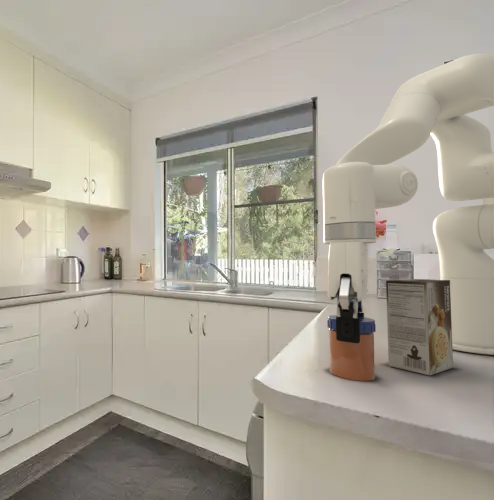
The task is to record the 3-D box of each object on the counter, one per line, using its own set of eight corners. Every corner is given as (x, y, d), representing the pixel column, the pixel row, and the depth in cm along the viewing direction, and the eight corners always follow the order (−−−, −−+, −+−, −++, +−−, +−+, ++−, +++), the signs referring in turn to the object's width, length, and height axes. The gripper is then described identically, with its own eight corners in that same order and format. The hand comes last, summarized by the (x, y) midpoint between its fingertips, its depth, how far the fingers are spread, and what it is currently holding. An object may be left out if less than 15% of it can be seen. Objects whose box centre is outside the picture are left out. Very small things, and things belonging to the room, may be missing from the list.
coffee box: (410, 359, 66) (408, 278, 67) (454, 368, 61) (451, 280, 61) (387, 366, 62) (384, 279, 63) (431, 376, 57) (428, 281, 57)
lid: (321, 324, 62) (321, 314, 62) (362, 326, 61) (362, 315, 61) (337, 332, 55) (337, 321, 55) (384, 334, 54) (384, 322, 54)
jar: (327, 366, 62) (326, 317, 62) (370, 371, 59) (368, 319, 60) (332, 377, 56) (331, 323, 57) (379, 383, 54) (377, 326, 54)
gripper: (331, 238, 68) (333, 327, 67) (314, 233, 54) (316, 343, 54) (378, 236, 63) (380, 332, 62) (371, 230, 49) (374, 352, 49)
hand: (350, 336), depth 58 cm, fingers closed on lid, 6 cm apart
